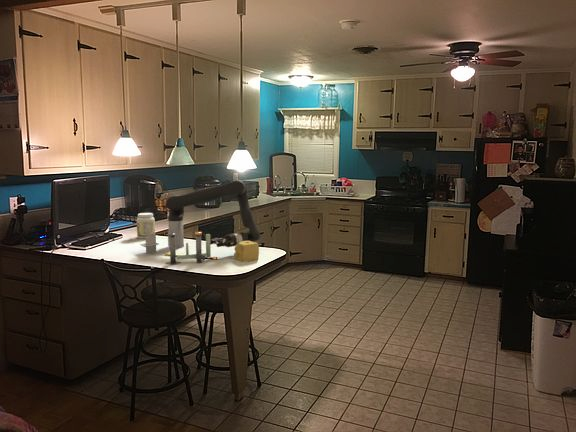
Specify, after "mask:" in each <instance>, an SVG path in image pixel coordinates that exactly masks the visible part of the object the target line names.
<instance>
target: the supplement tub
mask: <svg viewBox="0 0 576 432" xmlns="http://www.w3.org/2000/svg"><path fill="white" fill-rule="evenodd" d="M155 223H156V222H155V217H154V213H153V212H140V213H138V214H137V218H136V236H137V238H138V239H142V240H143V239H144V240H146V237H145V236H149V235H151V233H152V234H156V224H155Z"/></svg>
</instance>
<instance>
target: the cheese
mask: <svg viewBox="0 0 576 432" xmlns="http://www.w3.org/2000/svg"><path fill="white" fill-rule="evenodd" d="M234 251H235V252H234V254H233V255H234V256H233V257H234V259H235V260H238V261H241V262H243V263H247V262H250V261H251V262H252V261H255V260H259V255H260V247H259V242H257V241H253V242H251V241H241V242H239V243H238V244H237V245H236V246H234Z"/></svg>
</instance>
